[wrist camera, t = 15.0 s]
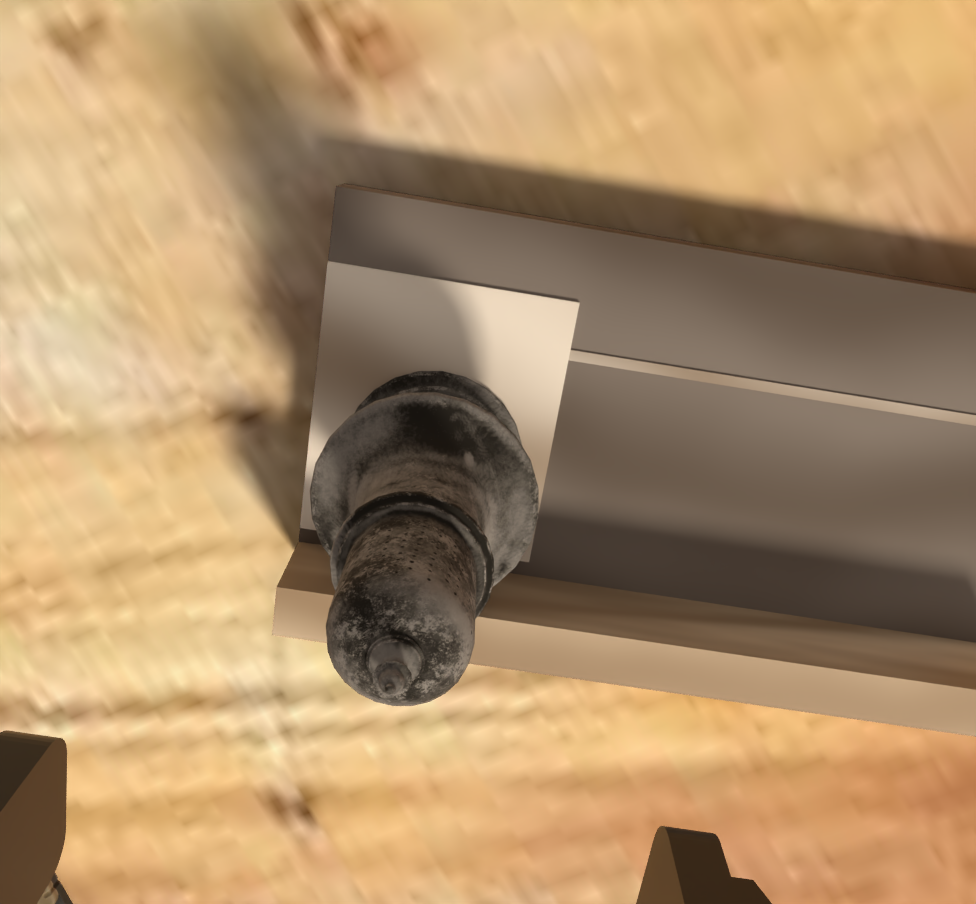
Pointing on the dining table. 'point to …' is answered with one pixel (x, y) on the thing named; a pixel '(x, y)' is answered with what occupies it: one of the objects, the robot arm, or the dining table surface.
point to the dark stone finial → (419, 530)
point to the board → (684, 454)
